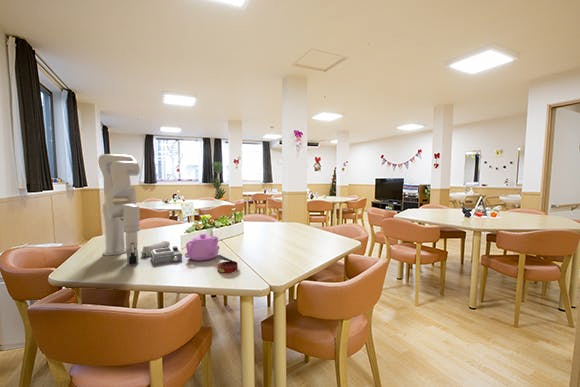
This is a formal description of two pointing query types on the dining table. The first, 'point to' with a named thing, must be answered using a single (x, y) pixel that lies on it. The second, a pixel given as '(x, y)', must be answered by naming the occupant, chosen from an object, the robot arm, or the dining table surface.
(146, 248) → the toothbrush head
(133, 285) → the dining table surface
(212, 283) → the dining table surface
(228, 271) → the canned food
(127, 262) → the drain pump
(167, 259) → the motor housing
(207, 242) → the teapot
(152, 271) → the dining table surface
